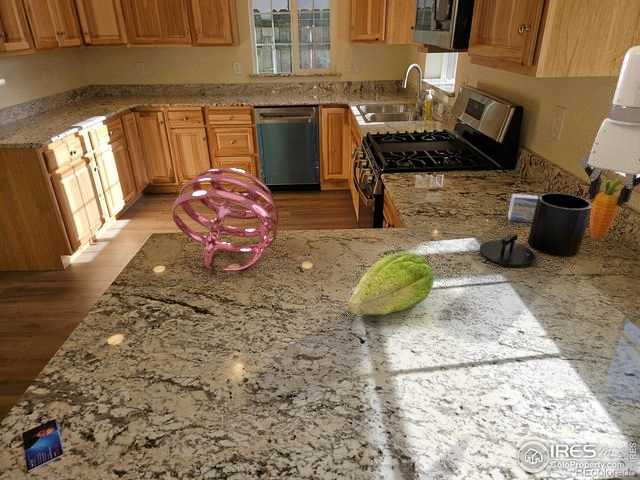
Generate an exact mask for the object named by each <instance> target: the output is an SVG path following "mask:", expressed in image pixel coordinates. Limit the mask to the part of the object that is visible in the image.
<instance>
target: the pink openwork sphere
mask: <svg viewBox="0 0 640 480" xmlns="http://www.w3.org/2000/svg"><path fill="white" fill-rule="evenodd" d="M224 173H231V174H234V175H238V176H242V177H243V178H247V179H249V180H251V181H252V182H253V183H254V184H253V183H251V182H249V181H246V180H244V179H242V178H238V177H234V176H231V175H224ZM203 182H209V184H210V186H211V187H212V189H210V188H202V185H201V183H203ZM221 183H225V184H229V185H232V187H231V188H230V189H228V188H226V187H225V186H223V184H221ZM190 186H191V190H190V191H187V192H186V190H187V188H188V187H190ZM236 186H237V187H241V188H243V189H245V190H246V191H247V193H239V192H235V187H236ZM260 198H262V199H263V200H264V201H265V202H266V204H265V205H262V204H261V202H260V200H259V199H260ZM193 200H198V201H199V202H200V203H201V204H202V205H204V206H205V207H206V208H208V209H209V210H211V211H212V212H214V213H215V214H216V216H215V219H210V218H208V217H206V216H204V215H202V214H201V213H200V212H198V211H197V210H196V209H195V208H193V206H192V205H191V204H190V203H189V201H193ZM214 200H217V201H223V202H222V203H218V202H216V201H214ZM230 203H231V204H234V205H237V206H240V207H242V208H244V209H247V210H240V209H234V208H231V207H230ZM179 206H180V207H181V208H182V210H183V211H184V212H185V214H186V215H187V216H188V217H189V218H190V219H192V220H193V221H195V222H196V223H197V224H199V225H201V226H202V227H205V228H206V229H208V230H209V235H208V236H205V235H203V234H201V233H199V232H197V231H196V230H194V229H192V228H191V227H189V226H188V225H187V224H186V223H185V222H184V221H183V220H182V219H181V217H180V216H179V213H178V211H177V208H178V207H179ZM171 208H172V210H171V215H172V219H173V222H174V223H175V225H176V226H177V228H178V229H179V230H180V231H181V232H183V233H184V234H185V235H186V236H188V237H189V238H190V239H192V240H193V241H196V242H198V243H200V244H202V245H203V246H204V247H205V252H204V266H205V268H206V269H207V270H208V271H211V270H212V268H213V267H212V263H213V258H214V254H215V251H218V250H219V251H224V252H229V253H237V254H238V253H240V254H248V253H254V255H253V256H252V258H251V259H250V260H249V262H247V263H245V264H244V265H242V266H239V267H231V268H230V267H222V271H224V272H228V273H231V272H232V273H233V272H234V273H235V272H240V271H243V270H246V269H247V268H250V267H251V266H252V265H253V264H255V263H256V262H257V261H258V259H259V258H260V257H261V256H262V254H263V253H264V251H265V250H266V249H268V248H270V247H271V246H272V245H273V243H275V241H276V238H277V236H278V223H279V219H280V213H279V209H278V206H277V204H276V202H275V200H274V196H273V194H272V191H271V190H270V189H269V187H268V186H267V185H266V184H265V183H264V182H263V181H262V180H260V179H259V178H257V177H256V176H255V175H253V174H251V173H250V172H248V171H246V170H243V169H240V168H235V167H213V168H209V169H206V170H203V171H201V172H200V173H198V174H197V175H196V176H195V177H193V178H190V179H189V180H188V181H187V182H185V184H183V186H182V187H181V189H180V191H179V194H178V197H177V198H176V199H175V201H174V202H173V205H172V207H171ZM272 211H274V217H273V215H272V214H271V212H272ZM226 218H233V219H237V220H255V219H257V220H258V221H259V226H258V227H252V228H240V227H233V226H229V225H226V224H225V222H224V221H225V219H226ZM271 232H272V236H271V237H270V238H269V239H268V235H269V234H270V233H271ZM221 235H227V236H233V237H240V238H254V237H259V241H258V242H257V243H256V244H247V245H243V244H232V243H227V242H222V241H221V240H220V239H219V237H220V236H221Z"/></svg>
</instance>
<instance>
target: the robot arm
mask: <svg viewBox="0 0 640 480" xmlns="http://www.w3.org/2000/svg"><path fill="white" fill-rule="evenodd" d="M613 95H614V96H613V99H612V103H611V105H610V106H611V107H610V110H609V113H608V117H607V118H605V119H604V120H603V121H602V123H601V125H600V127H599V130H598V132H597V134H596V136H595V139H594V142H593V144H592V147H591V151H589V152H588V153H587V154H585V155H584V156H582V157H581V158H580V159H579V160H578V161H577V164H578V165H579V167H581V169H583V170H584V172H585V173H586V175H587V176H588V178H589V181H590V184H589V187H588V191H587V194H588V195H589V197H588V199H589V200H590V201H591V200H592V201H593V199H594V196H595V195H596V194H598V193H600V190H601V186H602V183H603V180H602V175H603V174H604V172H605V170H606V171H609V172H616V173H620V174H624V175H625V177H624V178H625V184H624V186H623V187H621V189H620V192H619V195H618V196H619V199H618V202H617V205H618V206H619V207H622V206H623V205H625V204H626V203H629V201H630V200H631V197H632V193H633V189H634V187H637V186H638V185H640V176H638V175H640V45H635V46H632V47H630V48H629V49H627V51H626V53H625V55H624V58H623V62H622V66H621V69H620V72H619V77H618V81H617V84H616V88H615V92H614V94H613Z"/></svg>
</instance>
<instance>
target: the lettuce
mask: <svg viewBox="0 0 640 480" xmlns="http://www.w3.org/2000/svg"><path fill="white" fill-rule="evenodd" d="M434 280H435V276H434V272H433V267H432V266H431V265H430V264H429V263H428V261H427V260H426V259H425V258H424V257H422V255H420V254H416V253H413V252H401V253H391V254H389V255H386V256H385V257H383V258H381V259H379V260H378V261H376V262H375V263H374V264H372V266H371V267H370V268H369V269H368V270H366V272H365V273H364V275H363V276H362V277H361V279H360V280H359V282H358V284H357V286H356V288H355V290H354V292H353V294H352V295H351V297H350V298H349V299H348V304H347V306H348V309H349V310H350V312H351V313H352V314H353V315H358V316H359V315H361V316H362V315H369V316H370V315H371V316H377V315H378V316H379V315H382V316H383V315H384V316H385V315H387V314H388V315H389V314H391V313H394V312H401V311H403V310H407V309H409V308H412V307H414V306H417V305H418V304H420V303H422V302H423V301H425V300H426V299H427V298H428V296H429V294H430V293H431V291H432V288H433V286H434Z"/></svg>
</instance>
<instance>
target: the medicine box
mask: <svg viewBox="0 0 640 480" xmlns="http://www.w3.org/2000/svg"><path fill="white" fill-rule="evenodd" d="M538 196H539V195H537V194H521V193H511V198H510V203H509V208H508V213H507V219H508V220H509V221H510V222H515V223H526V224H528V223H529V224H532V221H533V217H534V213H535V208H536V204H537V200H538Z"/></svg>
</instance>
